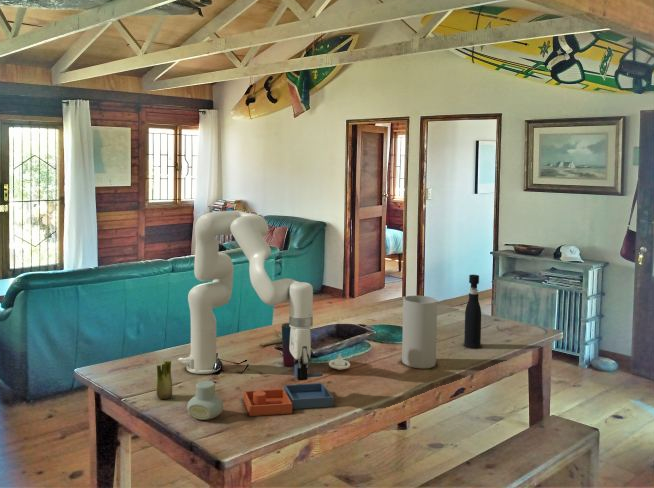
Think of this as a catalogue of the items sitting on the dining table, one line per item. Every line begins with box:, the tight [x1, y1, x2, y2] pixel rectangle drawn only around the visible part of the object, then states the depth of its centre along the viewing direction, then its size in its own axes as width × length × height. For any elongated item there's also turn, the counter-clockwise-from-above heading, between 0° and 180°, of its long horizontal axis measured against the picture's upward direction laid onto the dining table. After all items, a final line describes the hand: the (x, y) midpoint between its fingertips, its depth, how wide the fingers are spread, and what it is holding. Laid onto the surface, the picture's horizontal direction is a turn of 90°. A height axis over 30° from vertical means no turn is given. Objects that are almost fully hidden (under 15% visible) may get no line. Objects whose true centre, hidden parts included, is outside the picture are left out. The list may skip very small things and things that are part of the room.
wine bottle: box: [463, 274, 482, 349], centre depth 252 cm, size 6×6×30 cm
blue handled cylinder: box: [293, 364, 324, 380], centre depth 195 cm, size 9×4×4 cm, turn 100°
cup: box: [281, 322, 296, 367], centre depth 229 cm, size 7×7×15 cm
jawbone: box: [258, 329, 282, 347], centre depth 257 cm, size 9×20×2 cm, turn 161°
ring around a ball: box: [328, 353, 351, 371], centre depth 224 cm, size 8×6×8 cm
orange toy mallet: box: [253, 390, 282, 406], centre depth 190 cm, size 9×4×4 cm, turn 100°
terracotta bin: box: [243, 388, 293, 417], centre depth 190 cm, size 13×12×3 cm
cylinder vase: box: [401, 295, 438, 370], centre depth 230 cm, size 12×12×25 cm
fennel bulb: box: [155, 360, 173, 400], centre depth 196 cm, size 6×5×12 cm
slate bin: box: [283, 382, 334, 410], centre depth 195 cm, size 13×12×3 cm
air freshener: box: [186, 380, 224, 421], centre depth 183 cm, size 11×8×10 cm
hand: (300, 376), depth 195 cm, fingers closed on blue handled cylinder, 4 cm apart
